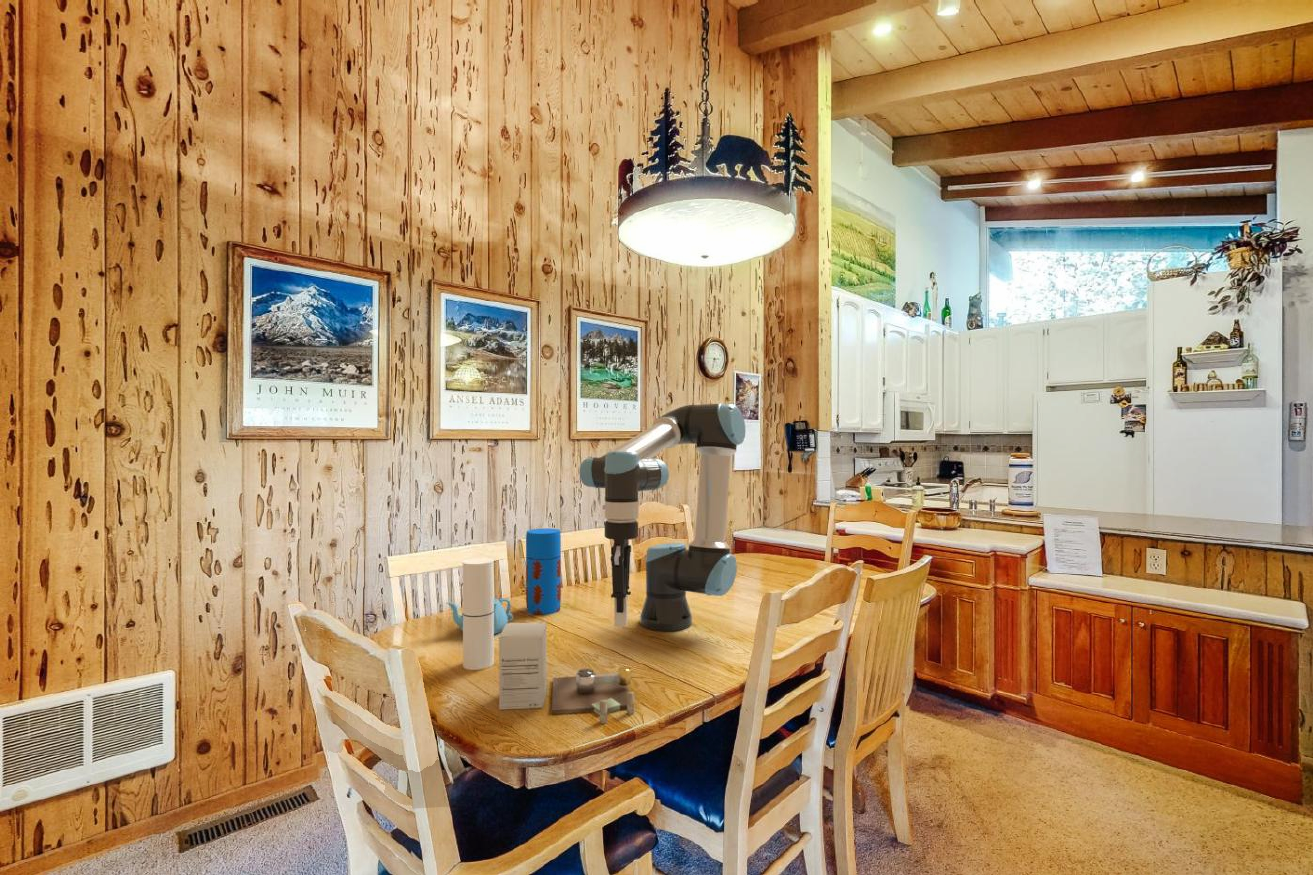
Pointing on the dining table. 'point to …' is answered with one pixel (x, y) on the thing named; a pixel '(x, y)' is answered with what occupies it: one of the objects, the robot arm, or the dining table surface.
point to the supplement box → (522, 666)
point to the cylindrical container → (478, 613)
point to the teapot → (499, 615)
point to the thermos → (543, 571)
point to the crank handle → (601, 679)
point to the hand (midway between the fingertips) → (620, 625)
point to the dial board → (590, 698)
